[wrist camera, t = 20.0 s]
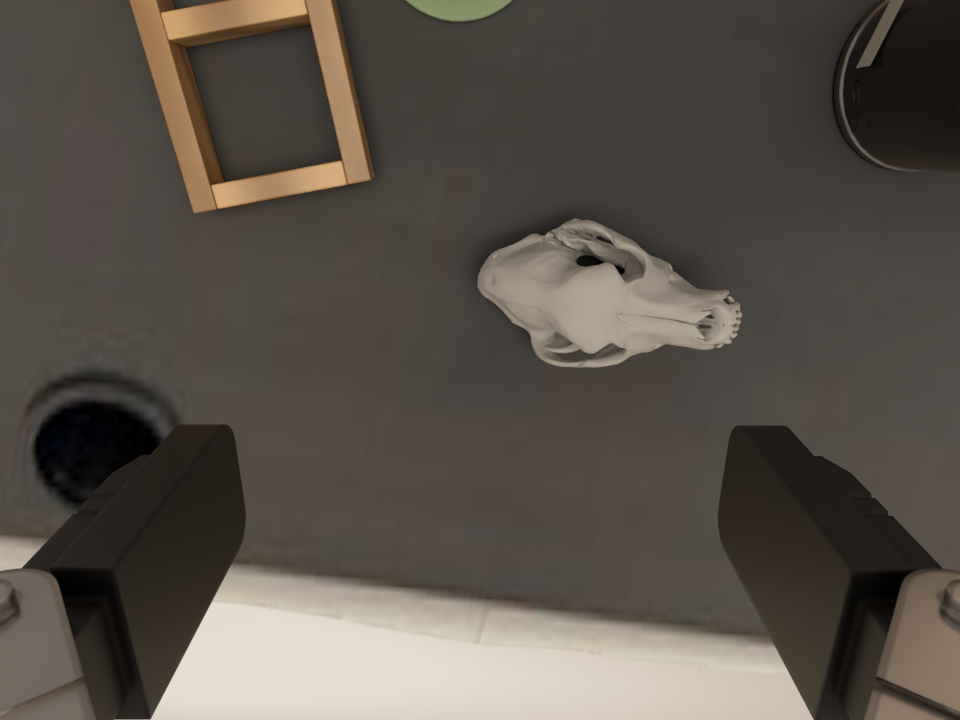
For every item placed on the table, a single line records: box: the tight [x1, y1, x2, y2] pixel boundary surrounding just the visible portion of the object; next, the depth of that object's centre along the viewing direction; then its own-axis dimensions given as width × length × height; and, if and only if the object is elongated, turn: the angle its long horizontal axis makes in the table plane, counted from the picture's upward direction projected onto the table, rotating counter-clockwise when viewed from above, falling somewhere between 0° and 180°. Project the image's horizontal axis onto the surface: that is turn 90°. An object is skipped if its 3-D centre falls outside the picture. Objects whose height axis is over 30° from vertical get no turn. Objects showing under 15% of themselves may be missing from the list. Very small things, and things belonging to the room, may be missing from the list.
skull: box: [477, 218, 742, 367], centre depth 35 cm, size 8×9×12 cm
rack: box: [129, 0, 375, 213], centre depth 33 cm, size 9×17×2 cm, turn 10°
